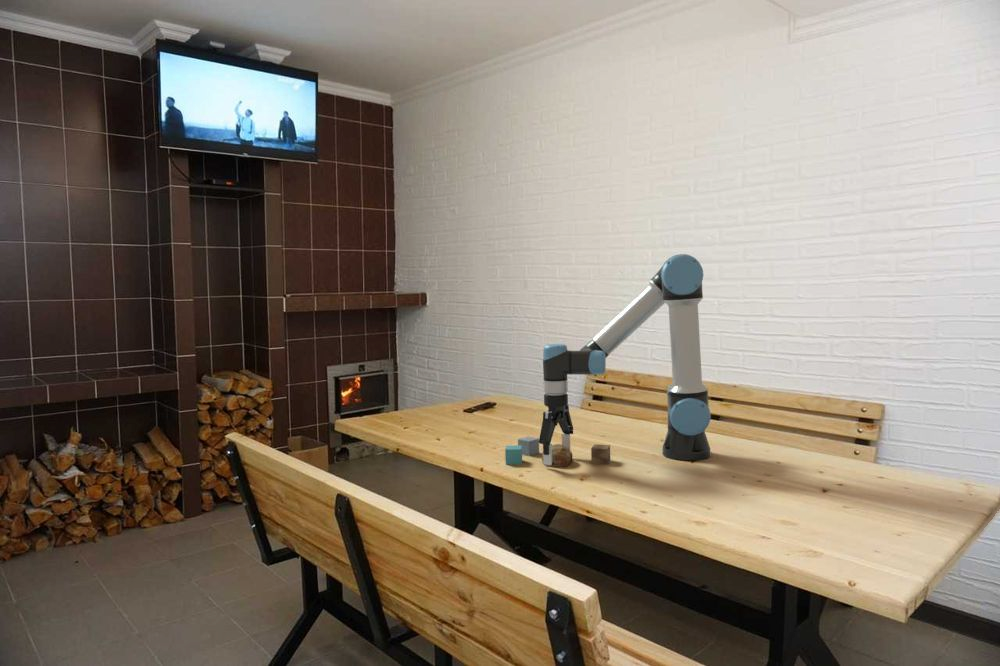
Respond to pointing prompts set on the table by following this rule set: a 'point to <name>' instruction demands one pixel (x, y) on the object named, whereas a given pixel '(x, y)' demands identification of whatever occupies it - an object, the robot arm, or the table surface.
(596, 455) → the walnut block
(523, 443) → the slate grey block
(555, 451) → the bread roll
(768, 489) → the table surface
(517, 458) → the dark teal block
